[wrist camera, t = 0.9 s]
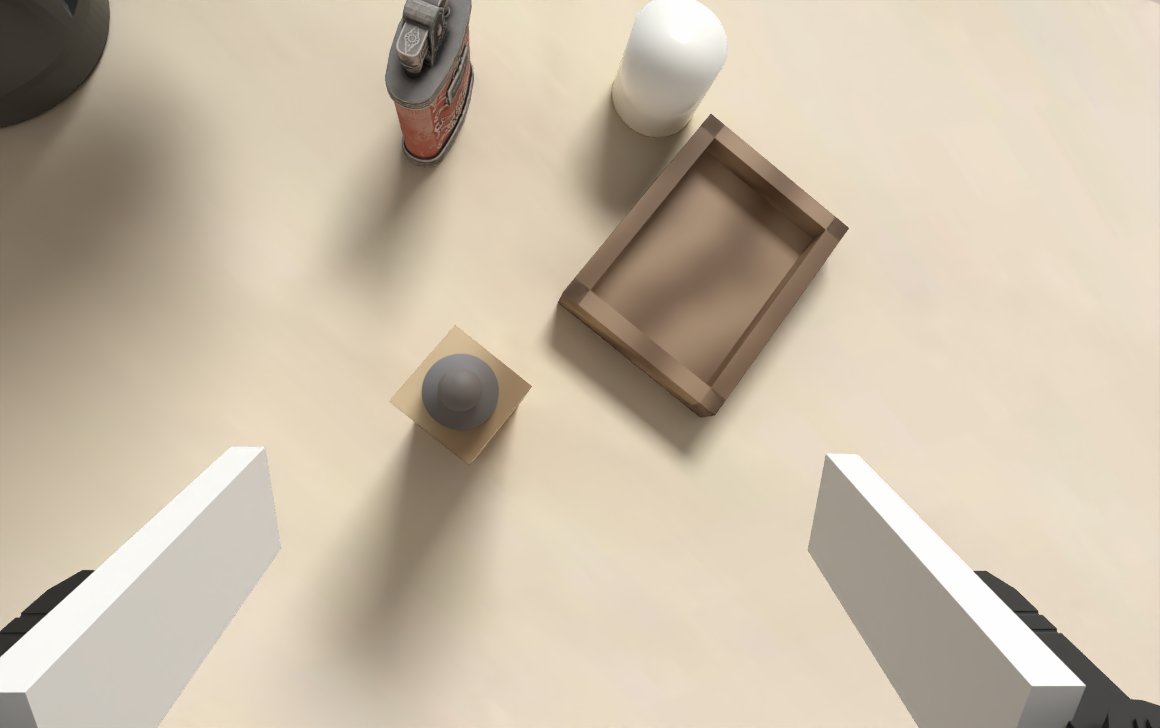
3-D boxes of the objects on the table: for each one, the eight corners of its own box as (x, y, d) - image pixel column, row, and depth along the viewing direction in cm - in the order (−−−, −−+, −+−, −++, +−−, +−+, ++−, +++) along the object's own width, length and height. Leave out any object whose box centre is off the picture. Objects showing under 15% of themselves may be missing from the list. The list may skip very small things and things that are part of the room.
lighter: (443, 175, 39) (429, 83, 29) (392, 156, 39) (361, 57, 29) (484, 70, 41) (483, -51, 31) (435, 51, 40) (419, -77, 31)
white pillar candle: (594, 98, 42) (612, 41, 36) (645, 42, 43) (670, -23, 37) (661, 154, 42) (690, 105, 36) (710, 95, 43) (745, 39, 37)
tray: (558, 302, 39) (562, 292, 37) (697, 133, 42) (710, 113, 40) (700, 417, 40) (714, 415, 37) (828, 240, 43) (849, 228, 40)
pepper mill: (417, 416, 37) (378, 395, 23) (463, 361, 38) (451, 311, 24) (473, 461, 37) (466, 466, 24) (518, 404, 38) (536, 379, 24)
